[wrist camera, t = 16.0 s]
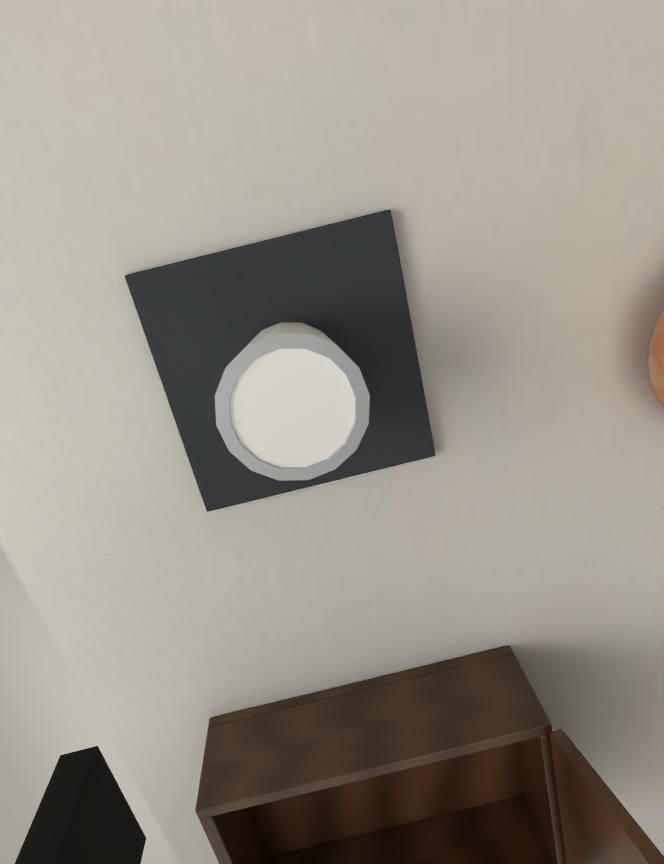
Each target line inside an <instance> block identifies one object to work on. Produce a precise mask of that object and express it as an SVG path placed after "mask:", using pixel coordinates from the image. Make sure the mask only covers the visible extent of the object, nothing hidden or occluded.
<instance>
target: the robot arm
mask: <svg viewBox="0 0 664 864" xmlns="http://www.w3.org/2000/svg"><path fill="white" fill-rule="evenodd" d="M145 840H146V837H145V835H144V833H143V831H142V830H141V828H140V826H139V824H138V822H137V820H136V818H135V816H134V814H133V812H132V811H131V809H130V807H129V805H128V803H127V801H126V799H125V798H124V795H123V793H122V792H121V790H120V788H119V786H118V784H117V782H116V780H115V778H114V776H113V774H112V773H111V771H110V769H109V767H108V765H107V763H106V761H105V759H104V757H103V755H102V754H101V752H100V750H99V748H98V746H96V747H92V748H88V749H84V750H80V751H76V752H72V753H69V754H65V755H61V756H60V758H59V760H58V763H57V765H56V767H55V770H54V772H53V775H52V777H51V779H50V782H49V784H48V786H47V789H46V791H45V793H44V796H43V798H42V800H41V803H40V805H39V808H38V810H37V813H36V815H35V817H34V819H33V822H32V824H31V827H30V829H29V831H28V834H27V836H26V839H25V841H24V843H23V846H22V848H21V850H20V853H19V855H18V858H17V860H16V862H15V864H140V863H141V858H142V854H143V849H144V845H145Z"/></svg>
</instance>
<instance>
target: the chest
mask: <svg viewBox="0 0 664 864" xmlns="http://www.w3.org/2000/svg"><path fill="white" fill-rule="evenodd" d="M550 733H553V731H552V724H551V722H550V720H549V719H548V717H547V715H546V713H545V711H544V709H543V707H542V705H541V704H540V702H539V700H538V698H537V696H536V694H535V692H534V691H533V689H532V687H531V685H530V683H529V681H528V679H527V677H526V676H525V674H524V672H523V670H522V668H521V666H520V664H519V662H518V661H517V659H516V657H515V655H514V654H513V651H512V649H511V648H510V646H505V647H501V648H497V649H493V650H489V651H485V652H481V653H476V654H472V655H468V656H464V657H460V658H456V659H452V660H448V661H444V662H439V663H435V664H431V665H427V666H423V667H419V668H415V669H411V670H407V671H402V672H398V673H394V674H390V675H386V676H382V677H378V678H374V679H370V680H365V681H361V682H357V683H353V684H349V685H345V686H341V687H337V688H333V689H328V690H324V691H320V692H316V693H312V694H308V695H304V696H300V697H296V698H291V699H287V700H283V701H279V702H275V703H271V704H267V705H263V706H259V707H254V708H250V709H246V710H242V711H238V712H234V713H230V714H226V715H222V716H217V717H213V718H210V719H209V726H208V732H207V739H206V745H205V752H204V758H203V765H202V772H201V778H200V785H199V791H198V798H197V804H196V813H197V815H198V817H199V819H200V822H201V824H202V826H203V828H204V831H205V833H206V835H207V837H208V839H209V842H210V844H211V846H212V848H213V851H214V853H215V855H216V857H217V859H218V862H219V864H567V862H566V854H565V847H564V839H563V831H562V824H561V816H560V808H559V801H558V793H557V785H556V777H555V770H554V762H553V754H552V747H551V739H550Z"/></svg>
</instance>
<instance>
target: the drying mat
mask: <svg viewBox="0 0 664 864" xmlns="http://www.w3.org/2000/svg"><path fill="white" fill-rule="evenodd" d="M125 278H126V281H127V284H128V287H129V290H130V293H131V295H132V298H133V301H134V304H135V307H136V310H137V313H138V315H139V318H140V321H141V324H142V327H143V330H144V333H145V335H146V338H147V341H148V344H149V347H150V350H151V353H152V355H153V358H154V361H155V364H156V367H157V370H158V373H159V375H160V378H161V381H162V384H163V387H164V390H165V393H166V396H167V398H168V401H169V404H170V407H171V410H172V413H173V416H174V418H175V421H176V424H177V427H178V430H179V433H180V436H181V438H182V441H183V444H184V447H185V450H186V453H187V456H188V458H189V461H190V464H191V467H192V470H193V473H194V476H195V478H196V481H197V484H198V487H199V490H200V493H201V496H202V498H203V501H204V504H205V507H206V510H207V511H212V510H216V509H220V508H224V507H228V506H232V505H236V504H240V503H245V502H249V501H253V500H257V499H261V498H265V497H269V496H273V495H277V494H281V493H285V492H289V491H293V490H297V489H302V488H306V487H310V486H314V485H318V484H322V483H326V482H330V481H334V480H338V479H342V478H346V477H350V476H355V475H359V474H363V473H367V472H371V471H375V470H379V469H383V468H387V467H391V466H395V465H399V464H403V463H407V462H412V461H416V460H420V459H424V458H428V457H432V456H435V451H434V445H433V440H432V434H431V429H430V423H429V418H428V412H427V407H426V401H425V396H424V390H423V385H422V379H421V374H420V368H419V363H418V357H417V352H416V347H415V341H414V336H413V330H412V325H411V319H410V314H409V308H408V303H407V297H406V292H405V286H404V281H403V275H402V270H401V264H400V259H399V254H398V248H397V243H396V237H395V232H394V226H393V221H392V215H391V211H390V210H386V211H382V212H378V213H374V214H370V215H366V216H362V217H358V218H354V219H350V220H346V221H342V222H338V223H334V224H330V225H326V226H322V227H318V228H314V229H310V230H306V231H302V232H298V233H293V234H289V235H285V236H281V237H277V238H273V239H269V240H265V241H261V242H257V243H253V244H249V245H245V246H241V247H237V248H233V249H229V250H225V251H221V252H217V253H213V254H209V255H205V256H201V257H197V258H193V259H189V260H185V261H181V262H177V263H173V264H169V265H165V266H161V267H157V268H153V269H149V270H144V271H140V272H136V273H132V274H128V275H126V276H125ZM281 322H300V323H304V324H306V325H309V326H311V327H313V328H316V329H318V330H320V331H322V332H323V333H324V334H325V335H326V336H327V337H328V338H329V339H331V340H332V341H333V342H334V343H335V344H336V345H337V346H338V347H339V348H340V349H341V350H342V351H343V352H344V353H345V354H346V355H347V356H348V357H349V358H350V359H351V360H352V361H353V362H354V363H355V364H356V365H357V366H358V367H359V369H360V371H361V374H362V376H363V379H364V382H365V384H366V387H367V389H368V392H369V394H370V403H369V424H368V427H367V429H366V431H365V433H364V435H363V437H362V439H361V441H360V443H359V445H358V448H357V450H356V451H355V452H354V453H353V454H351V455H350V456H349V457H348V458H347V459H346V460H345V461H344V462H343V463H342V464H341V465H339V466H338V467H337V468H336V469H335V470H333V471H330V472H327V473H325V474H322V475H320V476H317V477H315V478H312V479H310V480H281V481H279V480H276V479H273V478H270V477H268V476H265V475H262V474H259V473H256V472H254V471H251V470H250V469H249V468H248V467H247V466H245V465H244V464H243V463H242V462H241V461H240V460H239V459H237V458H236V457H235V456H234V455H233V454H232V453H231V452H229V450H228V448H227V446H226V444H225V442H224V440H223V438H222V436H221V434H220V432H219V430H218V428H217V426H216V411H215V394H216V391H217V389H218V386H219V383H220V381H221V378H222V375H223V373H224V370H225V368H226V367H227V366H228V365H229V364H230V363H231V362H232V360H233V359H234V358H235V357H236V356H237V355H238V354H239V353H240V352H241V351H242V350H243V349H244V348H245V347H246V346H247V345H248V344H249V343H250V342H251V341H252V340H253V339H254V338H255V337H256V336H257V335H258V334H259V333H260V332H261V331H262V330H264V329H266V328H269V327H271V326H273V325H276V324H278V323H281Z"/></svg>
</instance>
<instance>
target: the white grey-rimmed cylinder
mask: <svg viewBox="0 0 664 864" xmlns="http://www.w3.org/2000/svg"><path fill="white" fill-rule="evenodd" d="M369 403H370V394H369V392H368V389H367V387H366V384H365V382H364V379H363V376H362V374H361V371H360V369H359V367H358V366H357V365H356V364H355V363H354V362H353V361H352V360H351V359H350V358H349V357H348V356H347V355H346V354H345V353H344V352H343V351H342V350H341V349H340V348H339V347H338V346H337V345H336V344H335V343H334V342H333V341H332V340H331V339H329V338H328V337H327V336H326V335H325V334H324V333H323V332H322V331H320V330H318V329H316V328H313V327H311V326H309V325H306V324H304V323H300V322H281V323H278V324H276V325H273V326H271V327H269V328H266V329H264V330H262V331H261V332H260V333H259V334H258V335H257V336H256V337H255V338H254V339H253V340H252V341H251V342H250V343H249V344H248V345H247V346H246V347H245V348H244V349H243V350H242V351H241V352H240V353H239V354H238V355H237V356H236V357H235V358H234V359H233V360H232V362H231V363H230V364H229V365H228V366H227V367H226V368H225V370H224V373H223V375H222V378H221V381H220V383H219V386H218V389H217V391H216V394H215V411H216V426H217V428H218V430H219V432H220V434H221V436H222V438H223V440H224V442H225V444H226V446H227V448H228V450H229V452H231V453H232V454H233V455H234V456H235V457H236V458H237V459H239V460H240V461H241V462H242V463H243V464H244V465H245V466H247V467H248V468H249V469H250V470H251V471H254V472H256V473H259V474H262V475H265V476H268V477H270V478H273V479H276V480H279V481H281V480H310V479H312V478H315V477H317V476H320V475H322V474H325V473H327V472H330V471H333V470H335V469H336V468H337V467H338V466H339V465H341V464H342V463H343V462H344V461H345V460H346V459H347V458H348V457H349V456H350V455H351V454H353V453H354V452H355V451H356V450H357V448H358V445H359V443H360V441H361V439H362V437H363V435H364V433H365V431H366V429H367V427H368V424H369Z"/></svg>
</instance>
